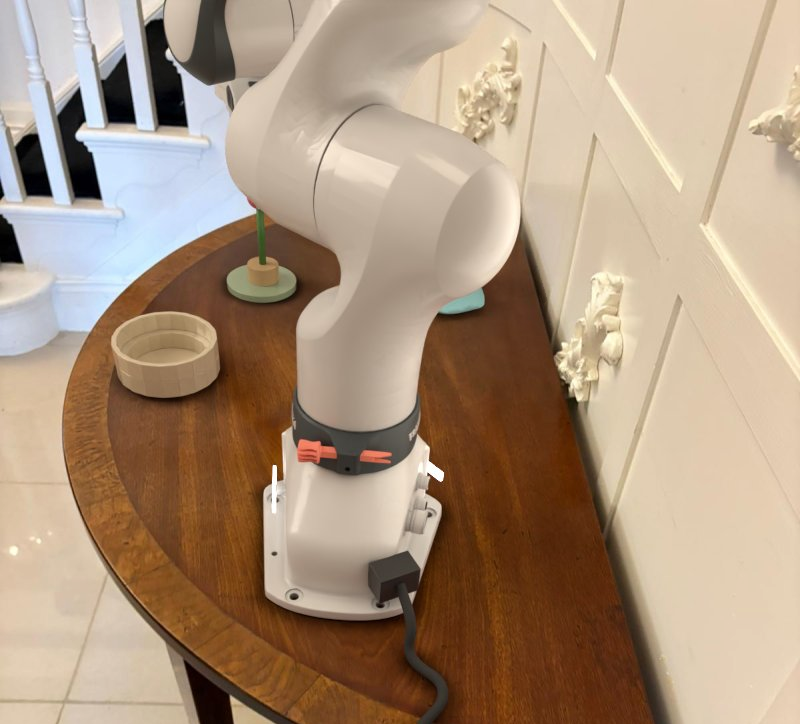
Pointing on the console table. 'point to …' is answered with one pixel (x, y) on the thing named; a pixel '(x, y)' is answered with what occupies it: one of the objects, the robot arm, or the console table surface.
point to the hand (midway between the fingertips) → (256, 194)
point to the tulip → (262, 258)
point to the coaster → (260, 294)
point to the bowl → (166, 354)
